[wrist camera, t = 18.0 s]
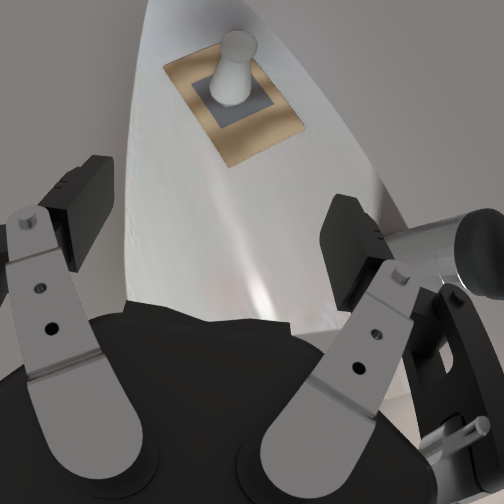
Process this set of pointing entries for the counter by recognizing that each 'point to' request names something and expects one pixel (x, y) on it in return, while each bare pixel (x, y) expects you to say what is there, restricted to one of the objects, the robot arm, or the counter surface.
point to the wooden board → (234, 108)
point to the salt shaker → (233, 69)
